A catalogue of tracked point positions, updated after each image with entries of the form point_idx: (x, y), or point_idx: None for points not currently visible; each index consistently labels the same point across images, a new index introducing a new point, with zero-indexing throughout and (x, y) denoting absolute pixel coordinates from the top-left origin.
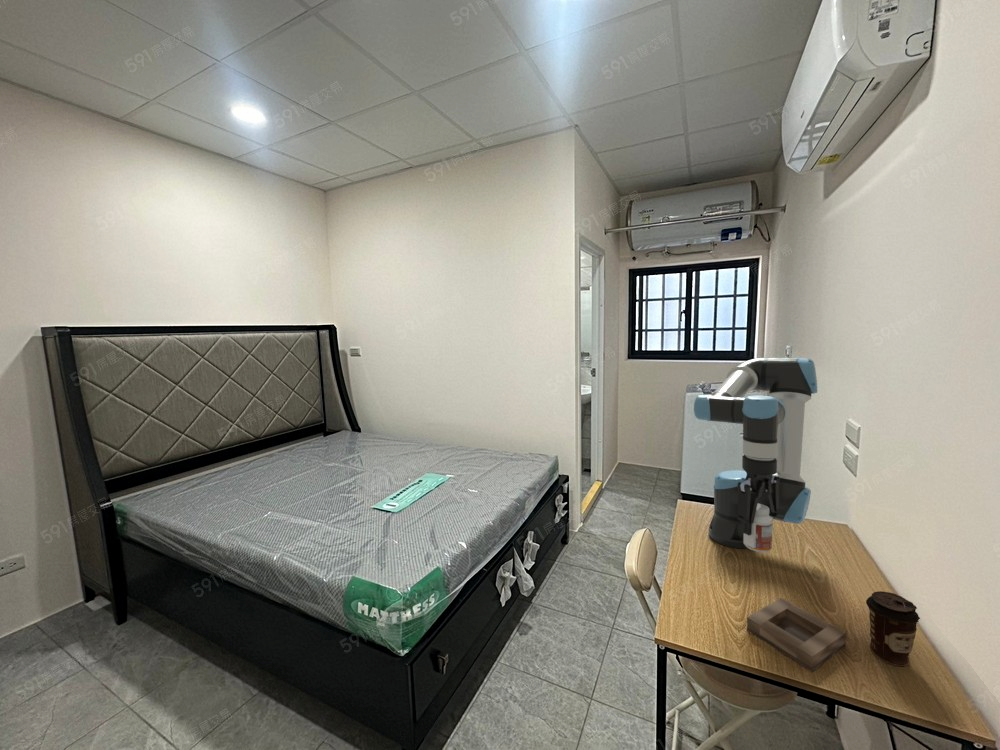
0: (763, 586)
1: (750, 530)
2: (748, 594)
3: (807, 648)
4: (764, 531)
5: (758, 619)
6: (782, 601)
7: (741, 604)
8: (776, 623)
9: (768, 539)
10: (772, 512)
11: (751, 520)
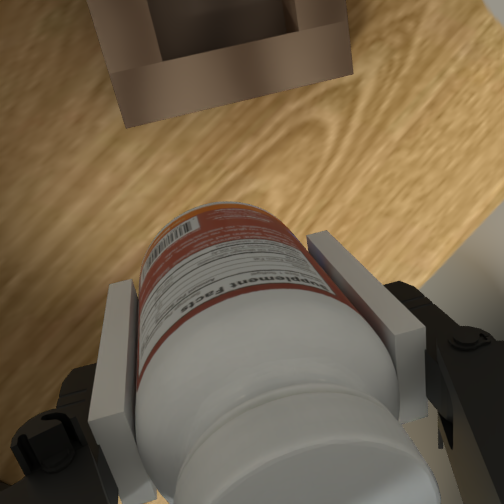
0: (75, 257)
1: (403, 303)
2: None
3: None
4: (295, 266)
5: (325, 48)
6: (140, 106)
7: (240, 192)
8: (230, 45)
9: (236, 231)
10: (78, 472)
11: (485, 348)
